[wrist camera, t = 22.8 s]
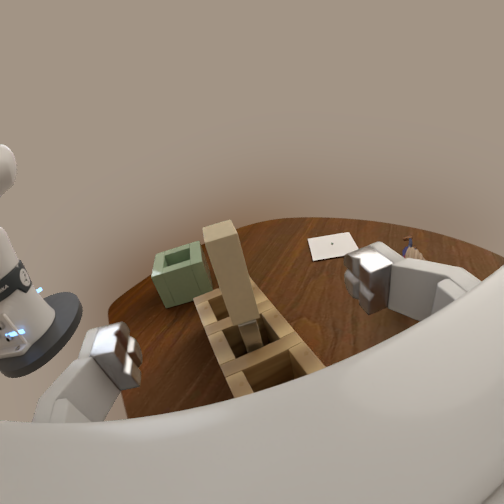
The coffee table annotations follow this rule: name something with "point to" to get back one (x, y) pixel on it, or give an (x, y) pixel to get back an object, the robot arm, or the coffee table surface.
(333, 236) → the white flat sheet
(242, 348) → the rack
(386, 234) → the coffee table surface
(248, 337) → the knife
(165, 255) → the holder
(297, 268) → the coffee table surface
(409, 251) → the figurine
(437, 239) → the coffee table surface
